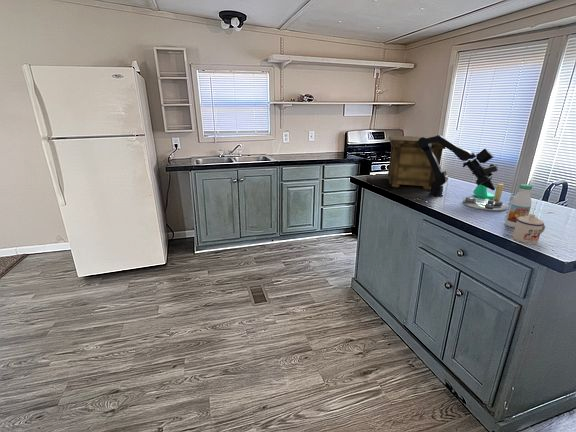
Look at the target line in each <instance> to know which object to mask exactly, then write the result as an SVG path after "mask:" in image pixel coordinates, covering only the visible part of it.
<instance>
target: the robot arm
mask: <svg viewBox="0 0 576 432" xmlns="http://www.w3.org/2000/svg"><path fill="white" fill-rule="evenodd" d="M421 137H422V138H420V139H419V140H418V145H419V146H420V148H421V149H422V150H423V151H424V152H425V154H426V156H427V158H428V160H429V162H430V164H431V167H432V169H433V171H434V176H435V181H434V182H432V183H431V189H429V191H430V192H428V193H427V194H428V195H429V196H432V197H436V198H437V197H443V196H444V195H443V191H444V185H445V184H446V183H447V182H448V181H449V175H448V172H447V171H446V170H443V169H442V167H441V165H440V166H439V163H438V161H437V159H436V157H435V155H434V153H433V151H432V145H431V143H434V142H438V143H440V144H441V145H443V146H444V147H445V149H448V150H449V151H451V152H452V153H453V154H454V155H455V156H456V157H457V158H458V159H459V160H460V161H462V163H463V165H462V168H465V167H467V168H468V169H469V170H470V171H471V173H472V175H474V176H475V177H476V181H475V184H476V185H477V186H478V185H480V184H481V185H483V186H485V187H487V189H489V190H490V191H496V187H495V186H494V183H493V181H492V179H493V175H494V173H495V172H498V170H499V169H498V166H497V165H496V164H494V163H491V164H489V166H487V167H485V166H482V165H481V164H486V163H487V162H489V161H490V160H492V159H493V158H495V157H494V155H493V153H492V152H491V151H490V150H488V149H487V148H486V147H485V148H484V149H482V150H481V151H479V152H478V153H474V152H472V151H470V150H468V149H466V148H463V147H460V146H458V145H457V144H455V143H453V142H452V141H450V140H449V139H447V138H446V137H444V136H443V135H441V134H438V135H434V136H431V137H430V136H421ZM429 137H430V138H429Z"/></svg>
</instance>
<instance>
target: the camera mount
mask: <svg viewBox="0 0 576 432" xmlns="http://www.w3.org/2000/svg"><path fill="white" fill-rule="evenodd" d="M487 189H488V188H487V187H485V186H483V185H481V184H480V185H477V186H476V187H475V188H474V190H473V191H472V194H473V195H475V196H476V197H475V198H482V199H489V200H494V196H495V194H493V193H490V192H488V191H487Z"/></svg>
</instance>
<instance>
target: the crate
mask: <svg viewBox="0 0 576 432" xmlns="http://www.w3.org/2000/svg"><path fill="white" fill-rule="evenodd" d="M422 137H423V136H407V135H405V136H404V135H389V137H388V139H389V142H390V146H391V148H390V154H389V155H390V156H389V162H388V171H387V177H388V185H389V184H390V185H391V187H392V186H393V187H394V188H399V187H400V185H405V186H406V185H408V186H420V187H421V186H422V188H423V190H431V183H432V182H434V181H435V176H434V171H433V169H432V167H431V164H430V162H429V160H428V158H427V156H426V154H425V152H424V151H423V150H422V149H421V148H420V146H419V145H418V140H419V139H420V138H422ZM428 137H429V138H430V136H428ZM431 145H432V151H433V153H434V155H435V157H436V159H437V161H438V163H439V166H440V167H441V161H442V156H443V155H442V154H443V150H446V147H444V146H443V145H441V144H440V143H438V142H434V143H431Z"/></svg>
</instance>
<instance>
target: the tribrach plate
mask: <svg viewBox="0 0 576 432" xmlns="http://www.w3.org/2000/svg"><path fill="white" fill-rule="evenodd" d="M488 200H490V199H484V198H479V197H470V196H468V197H465V198H463V199H462V201H461V203H462V204H463V205H464V206H466V207H467V208H468V207H469V208H471V209H476V210H481V211H488V212H504V211H506V210H507V209H508V206H507V204H505V203H503V204H502V205H501V206H497V205H493V204H488V203H487V202H488Z"/></svg>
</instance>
